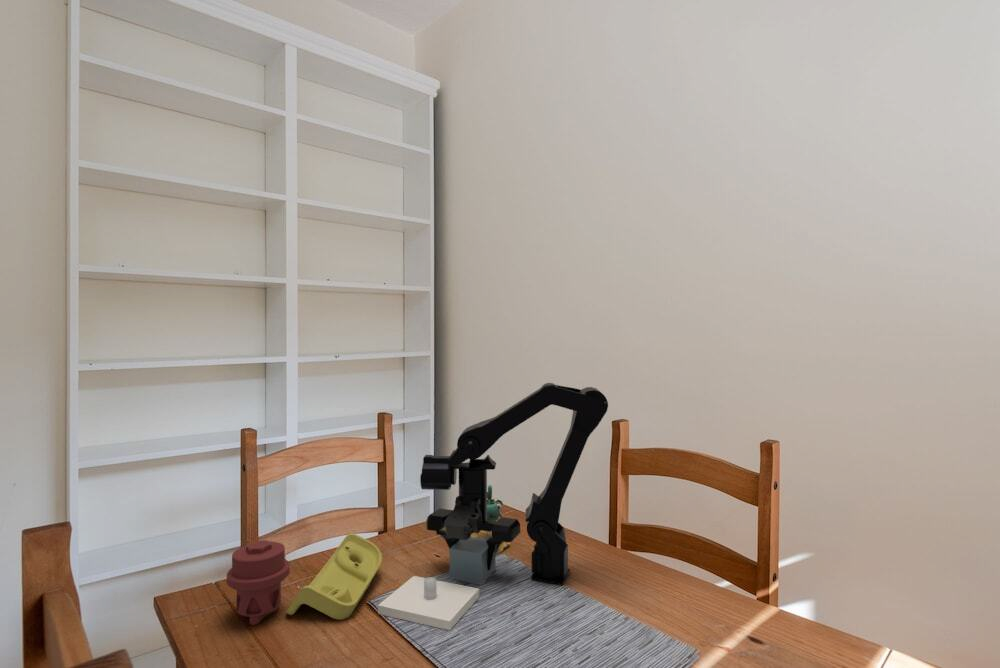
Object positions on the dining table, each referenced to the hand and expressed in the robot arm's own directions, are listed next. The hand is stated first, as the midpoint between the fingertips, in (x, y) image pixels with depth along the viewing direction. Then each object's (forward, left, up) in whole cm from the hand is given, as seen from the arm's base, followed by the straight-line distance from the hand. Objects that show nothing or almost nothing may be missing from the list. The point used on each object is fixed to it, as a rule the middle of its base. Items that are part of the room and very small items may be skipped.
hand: (472, 566), depth 109 cm
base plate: (+2, +14, -2) cm, 14 cm away
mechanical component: (+28, +28, -2) cm, 40 cm away
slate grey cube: (0, 0, -2) cm, 2 cm away
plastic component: (+20, +16, -2) cm, 26 cm away
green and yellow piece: (+3, -16, -2) cm, 16 cm away
